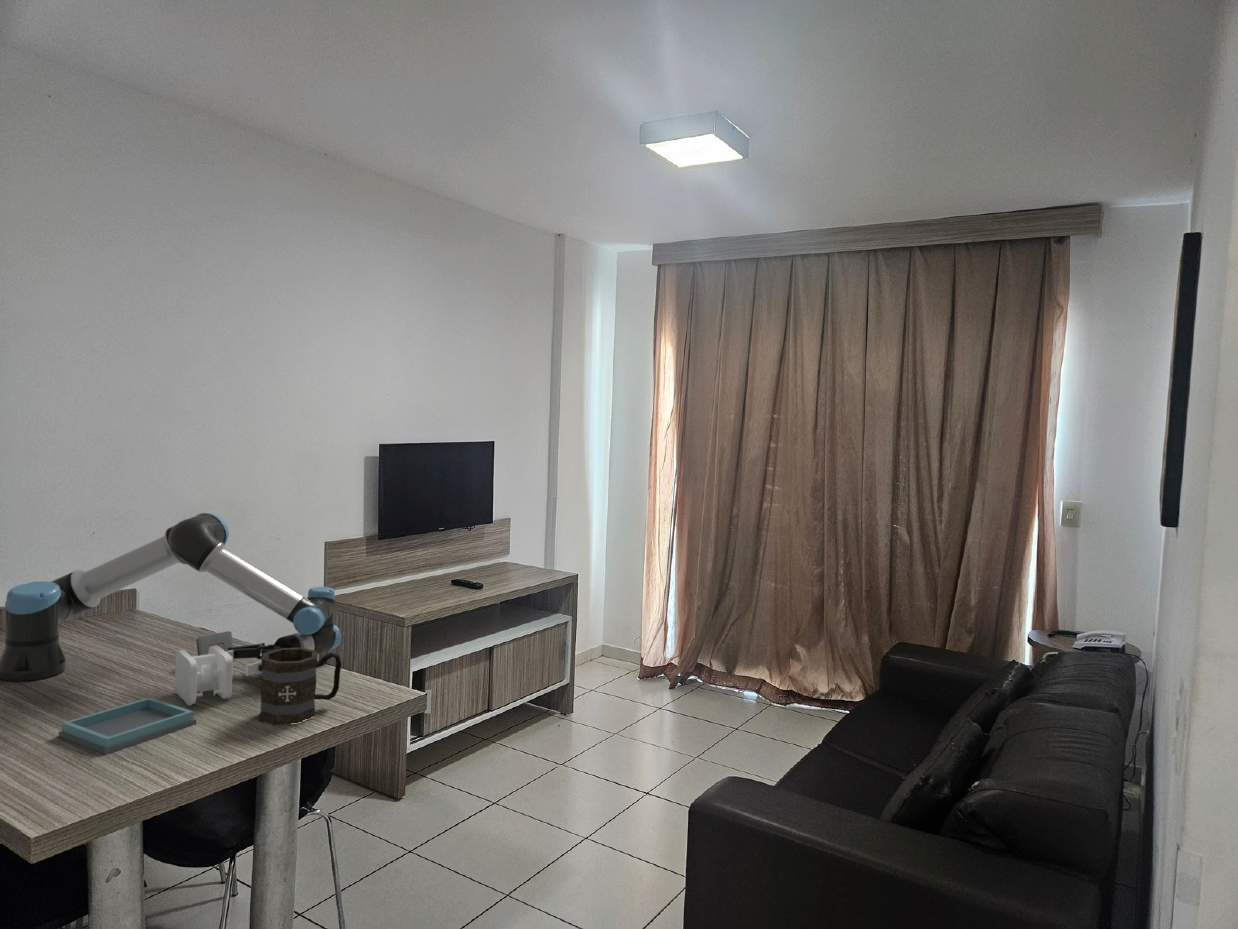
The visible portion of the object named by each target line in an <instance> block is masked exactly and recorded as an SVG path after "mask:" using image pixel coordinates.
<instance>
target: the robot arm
mask: <svg viewBox="0 0 1238 929" xmlns="http://www.w3.org/2000/svg"><path fill="white" fill-rule="evenodd" d="M229 534H230V532H229V527H228V524H227V523H226V521H225V520H224V519H223V518H222V517H220V516H219V515H217V514H215V513H210V512H209V513H208V512H205V513H204V512H203V513H202V512H201V513H199V514H197V515H195V516H192V517H189V518H186V519H184V520H181V521H180V522H179V521H178V523H176V524H175V525H173V526H170V527H169V528H167V529H165V532H164V535H163V536H162V537H160V538H157V539H155V540H152V541H150V542H148V543H146V544H144V545H142V546H140V547H137V548H136V549H135V548H134V549H132V550H131V551H129V552H126V553H124V554H122V555H119V556H117V557H115V558H113V559H110V560H109V561H107V562H104V563H102V564H100V565H98V566H95V567H93V568H90V569H89V570H87V571H84V570H82V569H81V570H80V569H76V570H74V571H72V572H70V573H67V574H65V575H62V576H60V577H58V578H56V579H54V580H52V581H47V580H46V581H45V580H44V581H32V582H27V583H22V584H19V585H16V586H14V587H12V588H11V589H9V591H7V593H6V600H5V603H4V607H5V632H4V633H5V634H4V635H5V636H4V638H5V641H4V642H5V646H4V649H3V650H2V654H1V657H0V680H1V681H7V682H24V681H26V682H27V681H36V680H42V679H48V678H50V676H51V677H54V676H53V675H55V674H57V675H60V674H62V673H63V672H62V671H64V672H65V671H66V670H65V669H67V660H66V657H65V655H64V652H63V649H62V646H61V644H60V624H61V623H63V622H67V620H69V619H72V618H75V617H77V616H79V615H81V614H83V613H84V612H88V611H89V610H91V609H94V608H96V607H98V606H99V604H100V602H101V599H102V598H105V597H107V596H109V595H111V594H113V593H116V592H118V591H120V590H121V589H122V590H123V589H124V588H127V587H129V586H131V585H133V584H135V583H137V582H139V581H141V580H143V579H147V578H148V577H150V576H152V575H154V574H157V573H160V571H164V570H165V569H167V568H170V567H173V566H174V565H176V564H182V565H185V566H186V565H187V566H189V567H191V568H192V569H194V570H196V571H198V572H199V573H208V574H210V575H212V576H213V577H215V578H217V579H218V580H220V581H222V582H223V583H225V584H227V585H228V586H231V587H232V588H233V589H235V590H236V591H238V592H240V593H242V594H244V595H245V596H247V597H248V598H250V599H252V600H253V601H255V602H257V603H259V604H260V605H262V606H263V607H265V608H267V609H268V610H270V611H272V612H273V613H275V614H277V615H279V616H280V617H282V618H284V619H285V620H286V621H289V622H290V623H291V624H293V628H294V629H295V630H296V632H295V633H294V632H293V633H292V634H289V635H284V636H281V637H278V638H277V639H276V640H275V642H274V643H273V644H272V643H271V644H267V645H266V643H265V642H261V643H257V644H249V645H248V644H247V645H239V646H233V647H229V648H228V651H227V653H228V654H229V655H230V656H231V657H233V658H232V660H233V659H234V660H235V659H236V660H237V659H257V660H260V661H256V662H252V663H250V664H246V665H245V677H246V676H247V677H248V676H249V677H250V676H253V675H256V674H259V673H262V656H263V653H266V652H269V651H273V650H276V649H280V648H306V649H310V650H315V651H318V654H317V655H319V654H322V653H323V654H324V653H327V652H329V651H332V650H334V649H336V648H337V647H338V646H339V645H340V644H341V642H342V634H341V630H340V628H339V627H338V626H337V625H335V624H334V620H335V619H334V616H335V602H336V598H335V589H334V588H332V587H329V586H316V587H311V588H310V589H308V591H307V597H305V596H303V595H302V594H300V593H298V592H297V591H295V590H294V589H292V588H290V587H289V586H287V585H285V584H284V583H282V582H280V581H279V580H278V579H275V578H274V577H272V576H271V575H269V574H267V573H266V572H264V571H262V570H261V569H259V568H257V567H256V566H255V565H253V564H251V563H249V562H247V561H246V560H244V559H242V558H241V557H239V556H238V555H236V554H234V553H233V552H231V551H229V550H228V549H226V548H225V545H226V543H227V542H228V539H229ZM61 672H62V673H61ZM55 676H56V675H55Z"/></svg>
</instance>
